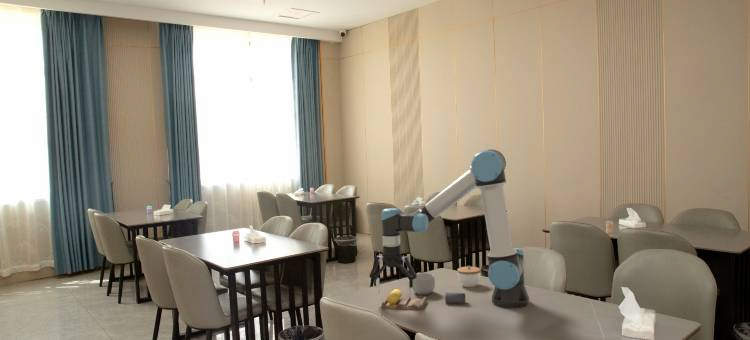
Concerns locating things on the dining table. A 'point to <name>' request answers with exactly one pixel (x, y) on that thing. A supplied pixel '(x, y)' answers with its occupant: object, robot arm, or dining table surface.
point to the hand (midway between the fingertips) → (393, 294)
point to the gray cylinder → (455, 298)
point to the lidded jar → (469, 276)
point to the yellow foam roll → (394, 296)
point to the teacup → (423, 283)
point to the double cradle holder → (406, 303)
